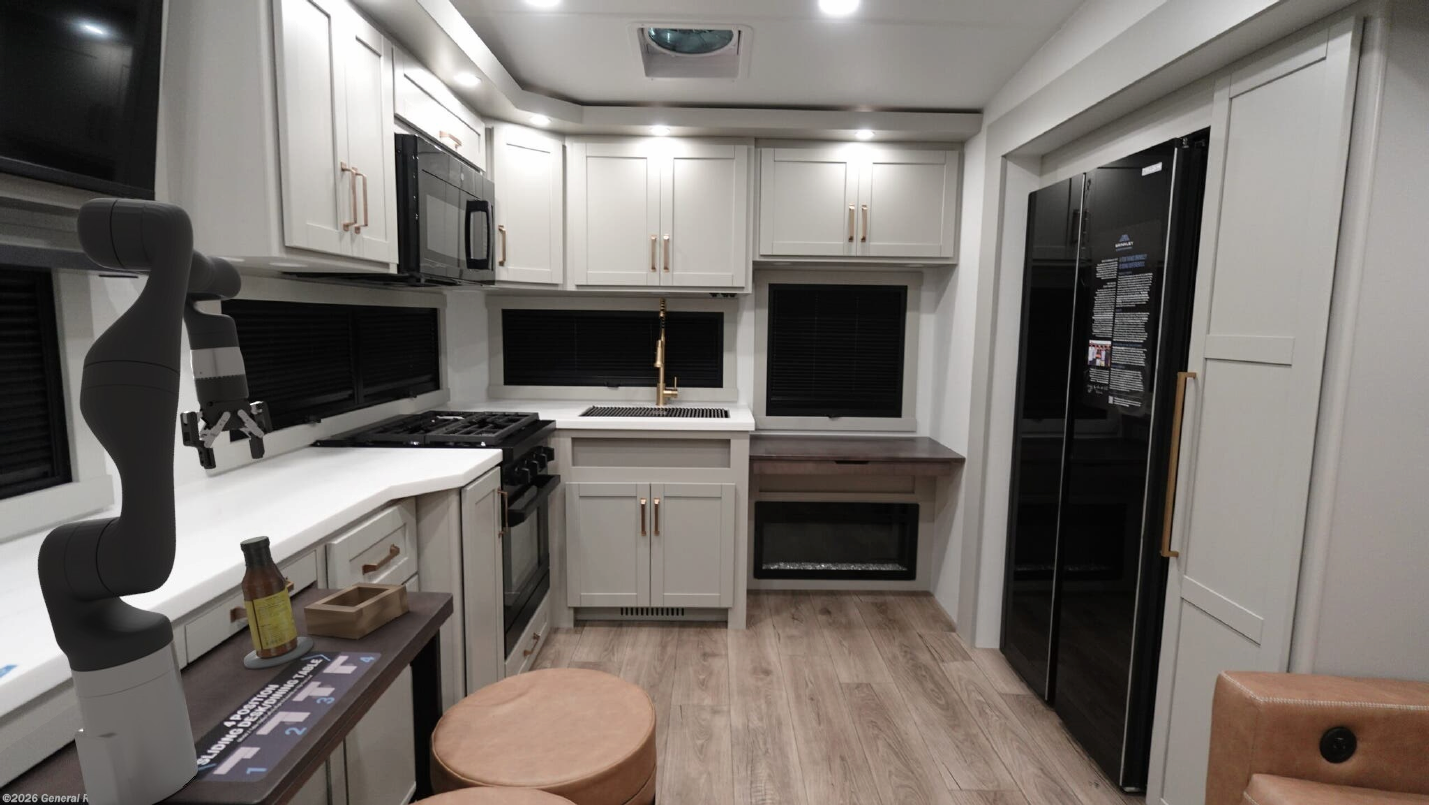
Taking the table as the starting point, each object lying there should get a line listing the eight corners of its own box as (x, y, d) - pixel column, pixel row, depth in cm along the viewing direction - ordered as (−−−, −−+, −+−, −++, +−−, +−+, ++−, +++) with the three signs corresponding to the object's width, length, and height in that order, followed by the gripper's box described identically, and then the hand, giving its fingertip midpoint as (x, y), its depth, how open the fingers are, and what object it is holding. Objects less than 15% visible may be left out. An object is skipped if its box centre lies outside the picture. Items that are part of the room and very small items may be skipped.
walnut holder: (357, 639, 118) (353, 612, 117) (307, 634, 122) (303, 608, 121) (409, 610, 129) (405, 585, 128) (362, 606, 133) (358, 582, 132)
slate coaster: (272, 671, 108) (271, 668, 108) (229, 665, 112) (229, 662, 112) (326, 642, 118) (326, 639, 117) (285, 638, 121) (285, 634, 121)
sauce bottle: (307, 642, 117) (288, 532, 115) (280, 659, 111) (260, 543, 109) (273, 643, 118) (254, 534, 115) (244, 661, 111) (224, 546, 109)
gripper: (190, 377, 111) (207, 472, 113) (272, 369, 124) (286, 455, 126) (161, 379, 114) (178, 473, 115) (244, 371, 127) (258, 455, 129)
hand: (234, 463), depth 121 cm, fingers open, 8 cm apart
